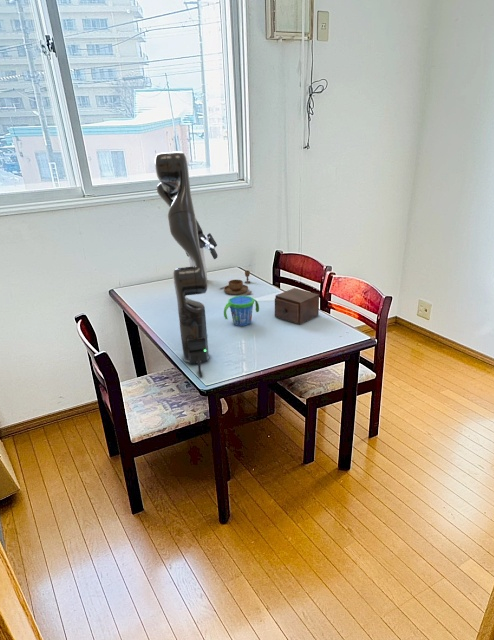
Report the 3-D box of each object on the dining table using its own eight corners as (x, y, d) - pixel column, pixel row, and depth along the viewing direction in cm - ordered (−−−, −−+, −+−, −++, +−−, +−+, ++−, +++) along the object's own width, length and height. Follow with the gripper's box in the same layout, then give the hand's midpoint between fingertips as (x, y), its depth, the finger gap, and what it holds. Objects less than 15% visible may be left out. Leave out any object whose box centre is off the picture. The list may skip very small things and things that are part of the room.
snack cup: (228, 330, 202) (227, 307, 196) (220, 321, 210) (218, 298, 205) (264, 324, 207) (263, 300, 201) (254, 315, 215) (253, 293, 210)
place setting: (215, 289, 246) (214, 278, 243) (247, 281, 256) (247, 269, 253) (236, 298, 234) (236, 286, 231) (269, 289, 245) (269, 277, 242)
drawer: (295, 324, 204) (295, 306, 200) (272, 316, 211) (272, 299, 207) (314, 315, 212) (314, 297, 208) (291, 308, 219) (292, 291, 215)
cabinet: (300, 324, 206) (300, 302, 201) (275, 316, 214) (275, 295, 209) (318, 315, 214) (319, 294, 209) (294, 308, 221) (294, 287, 216)
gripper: (178, 224, 196) (198, 261, 198) (206, 216, 204) (225, 252, 206) (171, 233, 203) (190, 269, 204) (199, 225, 210) (217, 260, 212)
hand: (208, 261), depth 205 cm, fingers open, 8 cm apart
